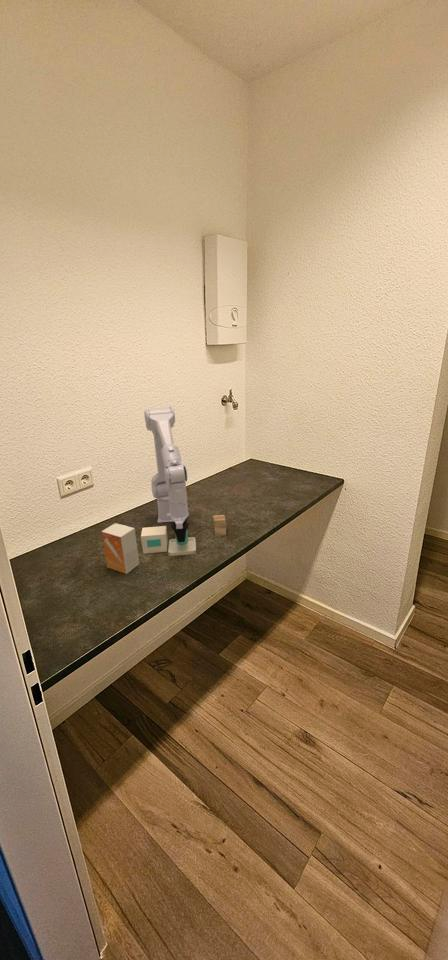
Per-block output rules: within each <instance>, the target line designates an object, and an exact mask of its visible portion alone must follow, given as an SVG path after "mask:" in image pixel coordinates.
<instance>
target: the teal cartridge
mask: <svg viewBox="0 0 448 960" xmlns="http://www.w3.org/2000/svg"><path fill="white" fill-rule="evenodd" d="M188 533H189V532H188V529H187V530H186V537H185V542H178V540H177V537H175V539H176V543H177V544H178V545H185V544H187V543H188V538H189V534H188Z"/></svg>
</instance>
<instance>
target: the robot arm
mask: <svg viewBox="0 0 448 960" xmlns="http://www.w3.org/2000/svg"><path fill="white" fill-rule="evenodd" d="M144 422H145V428H146V430H147V431H151V432H152V435H153V443H154V450H155V451H154V452H155V459H156V467H157V468H156V469H157V473H155V475H154V476H152V477H151V480H150V481H151V484H150V485H151V492H152V497H153V498H154V499H156V503H157V510H158V513H157V514H158V516H157V523H158V524H160V523H170V526H171V527H170V528H171V529H172V530H173V532H174V535H175V534H176V537H177V540H178V542H185V537H186V530H187V531H188V528H189V522H187V521H188V518H189V515H190V513H189V507H188V497H187V495H188V494H187V486H186V485H187V483H186V482H188V471H187V467H186V465H185V463H184V461H183V460H182V458H181V454H180V450H179V447H178V446H177V445H175V444H174V440H173V432H172V429H173V428H174V425H175V423H176V415H175V409H174V407H172V406H168V407H158V408H146V409H145V410H144ZM176 537H175V538H176Z"/></svg>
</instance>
